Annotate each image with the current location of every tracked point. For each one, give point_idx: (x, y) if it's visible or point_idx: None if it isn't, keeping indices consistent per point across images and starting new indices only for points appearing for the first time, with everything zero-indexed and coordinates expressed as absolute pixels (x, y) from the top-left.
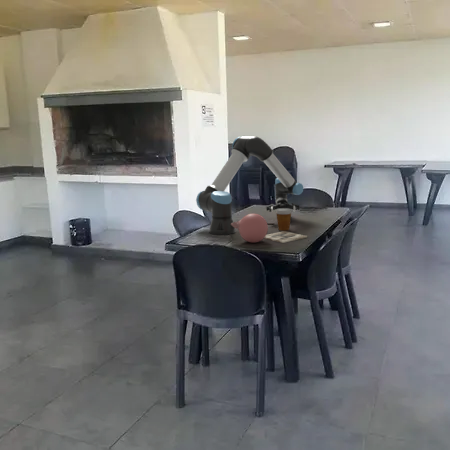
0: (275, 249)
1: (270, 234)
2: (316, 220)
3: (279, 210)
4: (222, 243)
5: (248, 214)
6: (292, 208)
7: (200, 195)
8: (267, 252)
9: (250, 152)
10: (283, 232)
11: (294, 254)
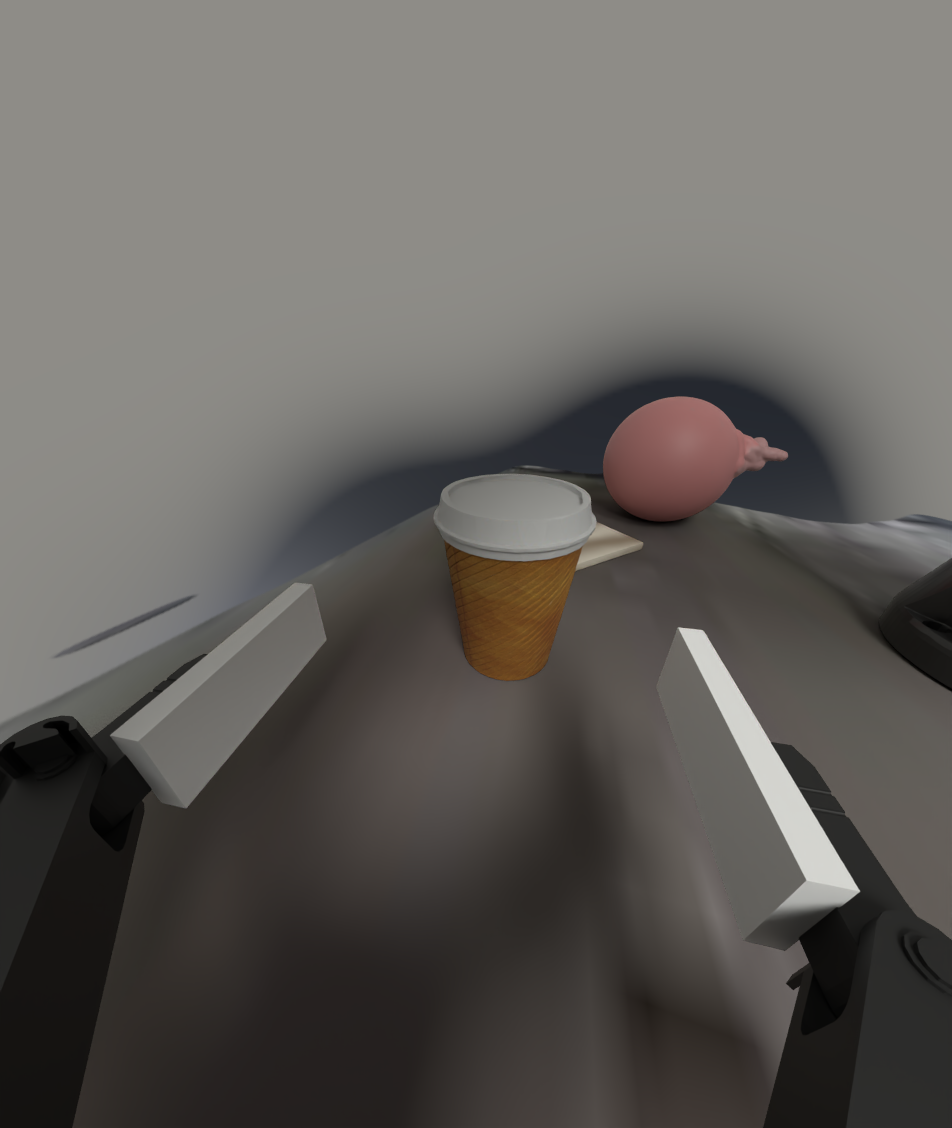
0: None
1: (596, 552)
2: None
3: (558, 480)
4: (774, 520)
5: (703, 400)
6: (105, 906)
7: None
8: (585, 474)
9: None
10: None
11: (522, 466)
